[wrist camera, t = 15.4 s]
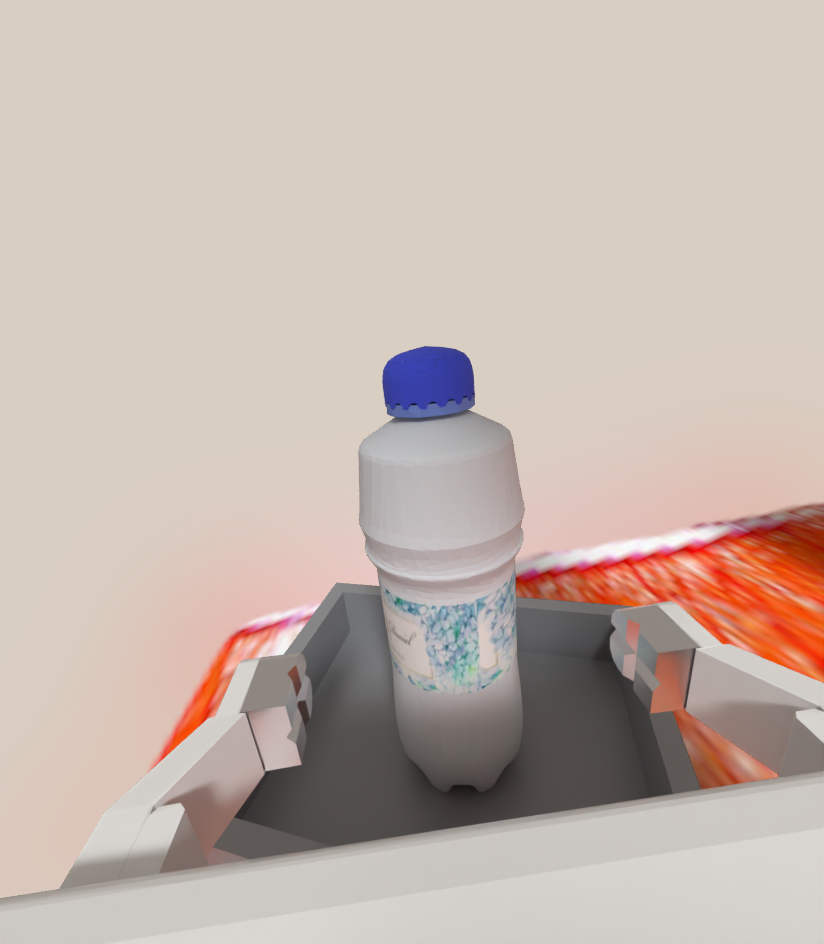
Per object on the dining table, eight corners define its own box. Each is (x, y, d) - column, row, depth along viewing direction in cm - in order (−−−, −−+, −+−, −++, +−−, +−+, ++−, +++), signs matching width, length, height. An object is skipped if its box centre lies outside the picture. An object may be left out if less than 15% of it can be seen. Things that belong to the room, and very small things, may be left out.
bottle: (384, 712, 23) (322, 356, 16) (487, 674, 25) (468, 338, 18) (423, 844, 17) (349, 360, 10) (556, 780, 19) (566, 332, 12)
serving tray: (628, 664, 25) (633, 606, 24) (757, 1111, 11) (791, 1034, 10) (346, 630, 31) (336, 582, 30) (189, 896, 17) (155, 828, 15)
